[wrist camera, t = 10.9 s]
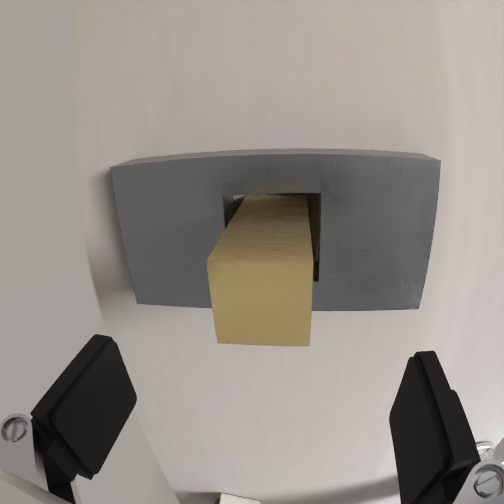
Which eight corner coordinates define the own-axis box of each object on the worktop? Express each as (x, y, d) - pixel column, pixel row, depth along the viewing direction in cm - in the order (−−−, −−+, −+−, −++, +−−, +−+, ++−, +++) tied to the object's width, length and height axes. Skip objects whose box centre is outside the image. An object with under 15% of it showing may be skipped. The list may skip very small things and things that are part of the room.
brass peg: (306, 195, 21) (313, 262, 12) (306, 251, 22) (309, 346, 13) (245, 196, 21) (206, 261, 12) (249, 251, 23) (217, 342, 14)
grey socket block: (422, 154, 18) (440, 160, 15) (407, 287, 22) (418, 308, 19) (131, 159, 21) (110, 167, 18) (152, 283, 25) (137, 303, 22)
